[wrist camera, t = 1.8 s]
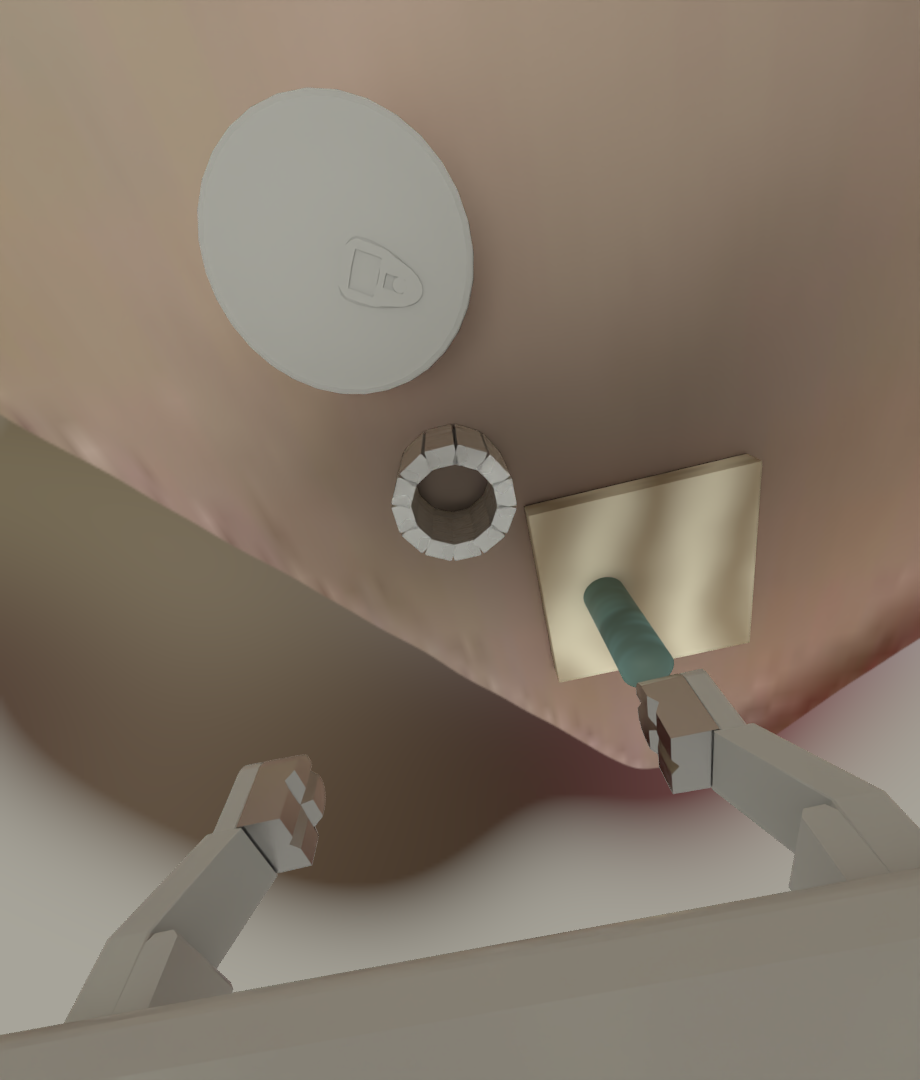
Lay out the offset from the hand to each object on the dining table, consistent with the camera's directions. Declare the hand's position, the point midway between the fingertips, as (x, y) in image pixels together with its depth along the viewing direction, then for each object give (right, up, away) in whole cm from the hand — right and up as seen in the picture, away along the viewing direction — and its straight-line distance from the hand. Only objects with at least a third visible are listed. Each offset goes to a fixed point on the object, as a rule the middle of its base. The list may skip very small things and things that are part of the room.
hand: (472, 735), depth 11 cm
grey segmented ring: (-1, +8, +17) cm, 19 cm away
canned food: (-4, +18, +12) cm, 22 cm away
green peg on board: (+12, +2, +21) cm, 24 cm away
